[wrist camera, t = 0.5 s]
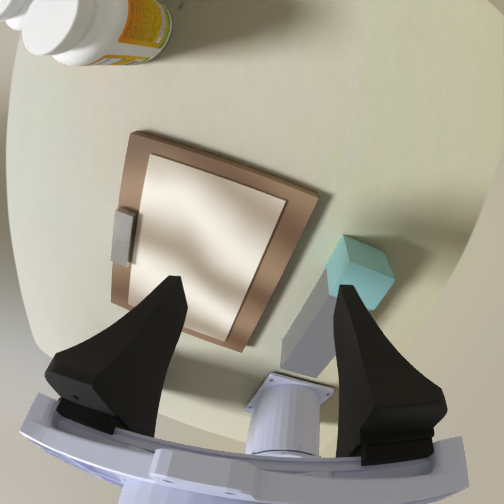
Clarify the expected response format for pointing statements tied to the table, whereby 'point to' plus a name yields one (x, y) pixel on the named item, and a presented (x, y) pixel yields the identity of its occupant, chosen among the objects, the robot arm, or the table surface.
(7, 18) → the supplement bottle
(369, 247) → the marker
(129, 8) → the supplement bottle
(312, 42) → the table surface
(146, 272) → the clipboard
